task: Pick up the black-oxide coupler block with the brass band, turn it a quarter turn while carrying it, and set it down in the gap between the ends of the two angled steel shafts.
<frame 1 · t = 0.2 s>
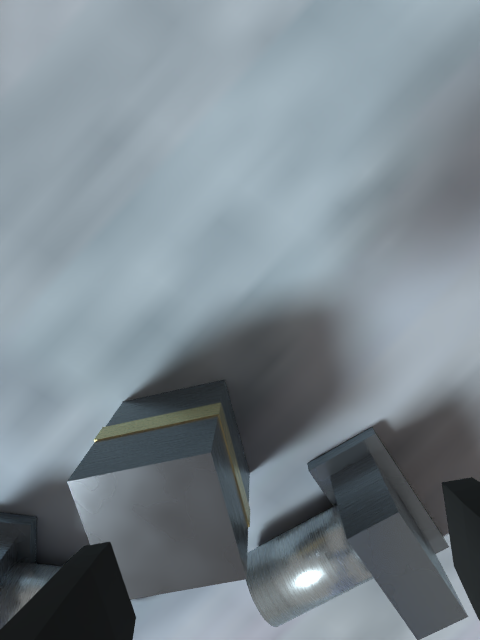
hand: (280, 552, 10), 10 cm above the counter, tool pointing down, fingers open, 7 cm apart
shaft b: (327, 527, 21), on the counter
shaft a: (54, 577, 22), on the counter
coupler: (187, 437, 20), on the counter
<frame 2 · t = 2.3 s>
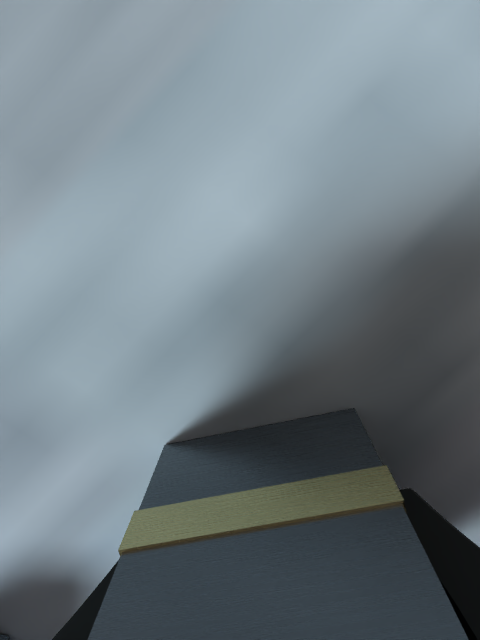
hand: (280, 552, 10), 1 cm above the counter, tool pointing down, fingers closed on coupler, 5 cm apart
coupler: (277, 510, 11), on the counter, touching gripper
when the fingers open (3 cm above the counter, at t = 5.6 s): coupler drops 1 cm, on the counter.
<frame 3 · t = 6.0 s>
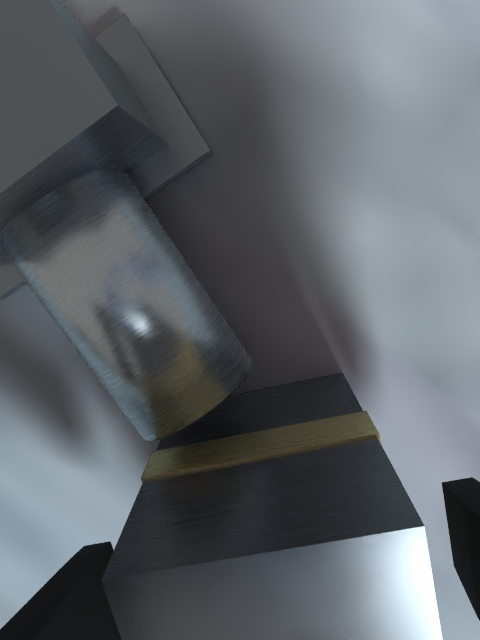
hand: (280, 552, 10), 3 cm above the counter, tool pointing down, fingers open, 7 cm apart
shaft b: (125, 260, 11), on the counter
coupler: (275, 464, 13), on the counter
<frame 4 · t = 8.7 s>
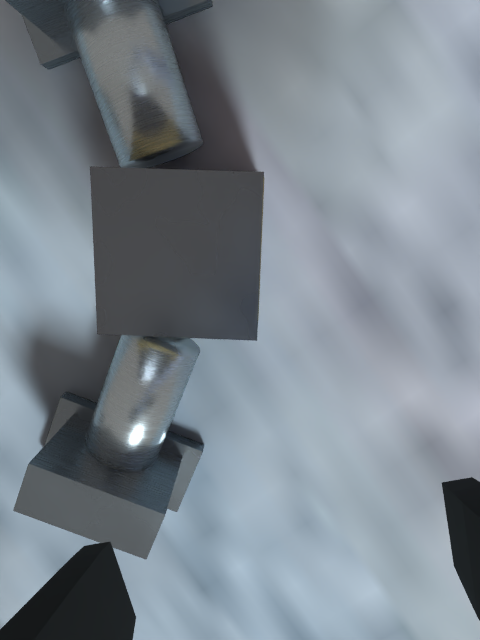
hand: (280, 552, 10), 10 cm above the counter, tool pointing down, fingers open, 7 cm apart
shaft b: (137, 64, 17), on the counter
shaft a: (142, 400, 20), on the counter
coupler: (202, 241, 18), on the counter
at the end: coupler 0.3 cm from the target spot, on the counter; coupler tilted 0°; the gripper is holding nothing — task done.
